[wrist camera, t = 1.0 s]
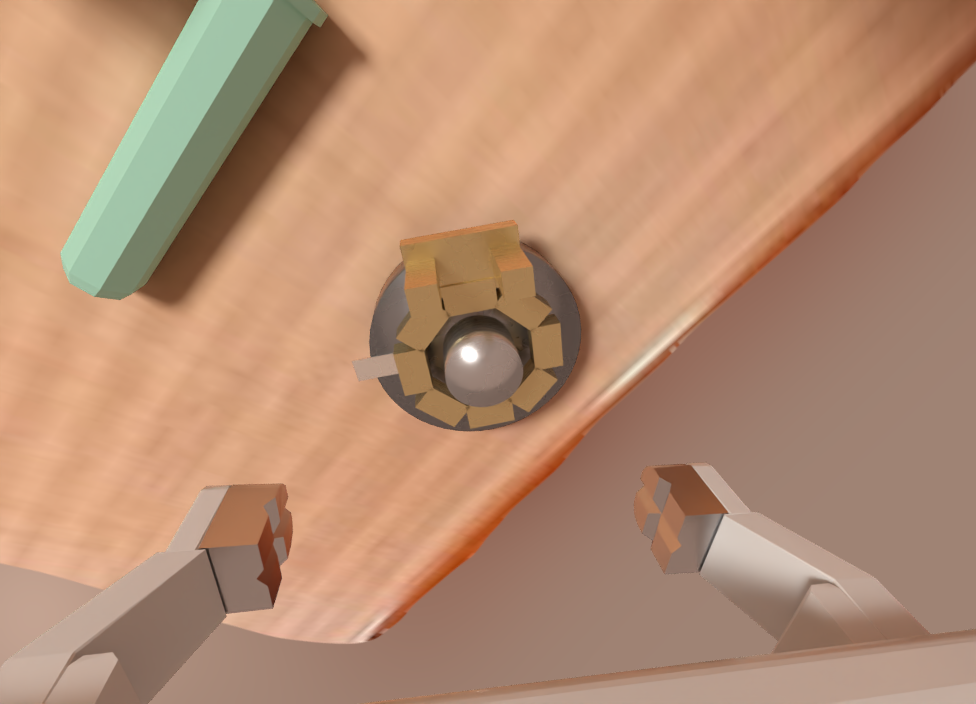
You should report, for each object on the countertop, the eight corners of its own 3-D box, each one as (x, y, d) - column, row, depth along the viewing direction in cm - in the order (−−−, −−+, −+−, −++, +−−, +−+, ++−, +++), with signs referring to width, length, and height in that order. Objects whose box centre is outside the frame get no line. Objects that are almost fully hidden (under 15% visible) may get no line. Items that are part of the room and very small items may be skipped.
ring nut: (561, 398, 42) (584, 448, 36) (417, 426, 41) (417, 482, 35) (546, 213, 33) (574, 239, 27) (366, 246, 33) (354, 279, 27)
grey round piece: (448, 186, 35) (454, 206, 28) (610, 306, 42) (645, 344, 35) (335, 358, 41) (318, 407, 34) (493, 438, 48) (505, 492, 41)
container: (85, 321, 30) (290, -18, 23) (17, 259, 30) (204, -105, 23) (160, 307, 36) (345, 31, 29) (104, 255, 36) (276, -38, 28)
